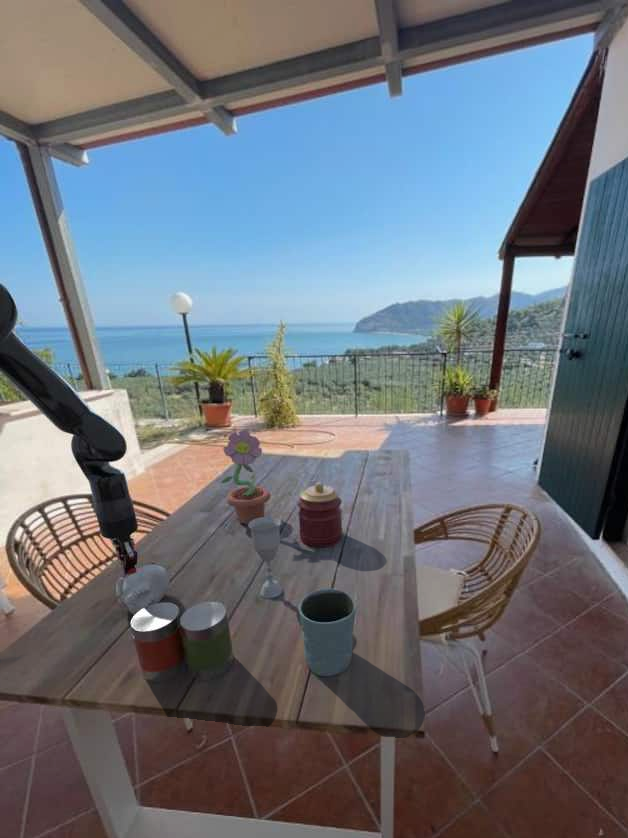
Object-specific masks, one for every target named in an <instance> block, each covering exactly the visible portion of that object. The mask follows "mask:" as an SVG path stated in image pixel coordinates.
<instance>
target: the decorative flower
mask: <svg viewBox="0 0 628 838" xmlns="http://www.w3.org/2000/svg"><path fill="white" fill-rule="evenodd" d="M227 439H228V443H227V445H226V446H224V447H223V448H222V450H223V452H224V454H225V456H227V457H229V458H230V459H231V462H232V463H233V464H236V466H235V468H234V470H233V474H232V475H231V476H230V475H229V476H226V477H224V478H223V479H222V480H221V482H220V484H226V483H229V482H231V481H232V482H233V483H234V484H235V485H237V486H243V487H238V488H235V489H233V490H232V491H230V492H229V493H228V494H227V495H226V503H227V504H228V505H229V506H231V507H234V510H235V514H236V518H237V519H236V520H238V522H239V523H241V524H243V523H244V524H243V525H248V524H249V522H251V521H252V520H254V519H257V518H261V517H265V503H268V501H269V500H270V499H271V493H270V491H269V490H268V489H267V488H265V487H263V486H256V485H255V483H254V482H253V481H254V480H255V477H256V475H253V476H252V475H251V477H250V479H240V478H239V476H240V473H241V470H242V468H244V469H245V470H246V471H247V472H249V473H254V470H253V469H252V468H251V466H250V465H251V464H254V463H255V462H256V461H255V460H256V459H257V458H260V457H261V456H262V453H263V449H262V448H261V447H260V445H261V443H260V441H259V438H258V437H256V436H253V435H251V432H250V431H248V430H239V431H238V433H237V432H232V433H231V434H230V435H229V436H228V438H227Z"/></svg>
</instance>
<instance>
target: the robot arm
mask: <svg viewBox="0 0 628 838" xmlns="http://www.w3.org/2000/svg"><path fill="white" fill-rule="evenodd" d="M18 310H19V309H18V305H17V302H16V299H15V297H14V295H13V294H12V293H11V291H10V290H9V289H8V288H7V287H6V286H5V285H4V284H3V283H1V282H0V373H1V374H2V375H4V376H5V377H6V379H8V380H9V381H10V382H11V383H12V385H14V386H15V387H16V388H17V390H19V391H20V392H21V393H22V395H24V396H25V397H26V398H27V399H28V400H29V401H30V402H31V403H32V404H33V405H34V406H35V407H36V408H37V409H38V411H40V413H42V414H43V416H45V417H46V418H47V420H49V422H50V423H52V424H53V426H55V428H57V429H58V430H60V431H61V432H63V433H66V434H69V435H72V437H71V441H70V449H71V453H72V456H73V457H74V459H75V462H76V463H77V465H78V467H79V469H80V470H81V472H82V474H83V475H84V476H85V478H86V479H87V481H88V483H89V487H90V492H91V495H92V500H93V507H94V512H95V516H96V520H97V523H98V524H97V525H98V527H99V531H100V535H101V536H102V537H103V538H104V539H108V540H111V541H110V542H111V545H112V546H113V548H114V552H115V555H116V556H117V559H118V560H119V563H120V564H121V566H122V570H123V573H124V575H125V574H126V573H127V572H128V571H129V570H130V569H132V568H136V566H137V565H138V551H137V550H136V549H135V545H136V543H135V540H134V538H133V537H132V536H131V535H132V534H134V533H135V532H136V531H137V530H138V528H139V524H138V519H137V515H136V510H135V505H134V502H133V500H132V497H131V494H130V489H129V486H128V481H127V477H126V475H125V473H124V471H122V469H119V468H117V467H114V466H113V465H112V464H111V463H113V462H118V461H120V460H122V459H123V458H124V457H125V455H126V454H127V450H128V445H127V440H126V438H125V437H124V435H123V433H122V432H121V431H120V430H119V429H118V428H117V427H116V426H114V425H113V424H112V423H111V422H109V421H108V420H107V419H106V418H104V417H103V416H101V415H100V414H99V413H97V412H96V411H94V410H93V409H92V408H91V407H90V406H89V405H88V403H87V402H86V401H85V400H84V398H82V397H81V395H80V393H78V391H76V389H75V388H74V387H73V386H72V385H71V384H70V383H69V381H67V380H66V379H65V378H63V376H61V375H60V374H59V372H57V371H56V370H55V369H53V368H52V367H51V366H50V365H48V364H47V362H45V361H44V360H42V359H41V358H40V357H39V356H38V355H37V354H36V353H34V352H33V351H32V350H31V349H30V348H29V346H27V344H25V342H24V341H23V340H22V339H21V338H20V337H19V336H18V335H17V334H16V333H15V331H14V329H15V327H16V324H17V321H18V317H19V311H18Z"/></svg>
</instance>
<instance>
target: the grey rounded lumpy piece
mask: <svg viewBox="0 0 628 838" xmlns="http://www.w3.org/2000/svg"><path fill="white" fill-rule="evenodd" d="M169 578H170V577H169V574H168V572H167V569H166V568H165V567H163V566H160V565H157V564H156V562H150V563H147V564H144V565H143V566H140V567H135V568H132V569H130V570H129V571H128V572H127V573H126V574H125V573H124V575H123V576H122V577H119V578H118V579H117V581H116V584H115V593H116V598H118V599H117V602H118V603H119V604H120V606H122V607H124V608H125V609H127V610H128V611H129V613H131V614H132V615H135V614H136V613H137V612H139V611H140V610H142V609H144V608H145V607H148V606H150V605H153V604H157V603H160V602H161V600H162V599H163V598H164V596H165V595H166V593H167V592H168V590H169V588H170V585H171V583H170V579H169Z"/></svg>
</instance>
